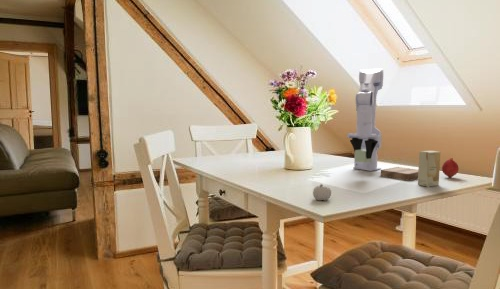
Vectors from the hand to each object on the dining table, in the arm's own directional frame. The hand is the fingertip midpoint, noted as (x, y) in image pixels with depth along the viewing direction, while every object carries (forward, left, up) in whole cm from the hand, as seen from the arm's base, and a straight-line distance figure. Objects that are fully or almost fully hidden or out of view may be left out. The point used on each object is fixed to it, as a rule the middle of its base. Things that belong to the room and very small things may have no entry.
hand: (363, 157), depth 154 cm
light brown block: (+8, +15, -8) cm, 19 cm away
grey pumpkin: (+14, -39, -8) cm, 42 cm away
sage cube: (0, 0, -1) cm, 1 cm away
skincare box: (+23, +7, -8) cm, 25 cm away
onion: (+21, +27, -8) cm, 35 cm away
